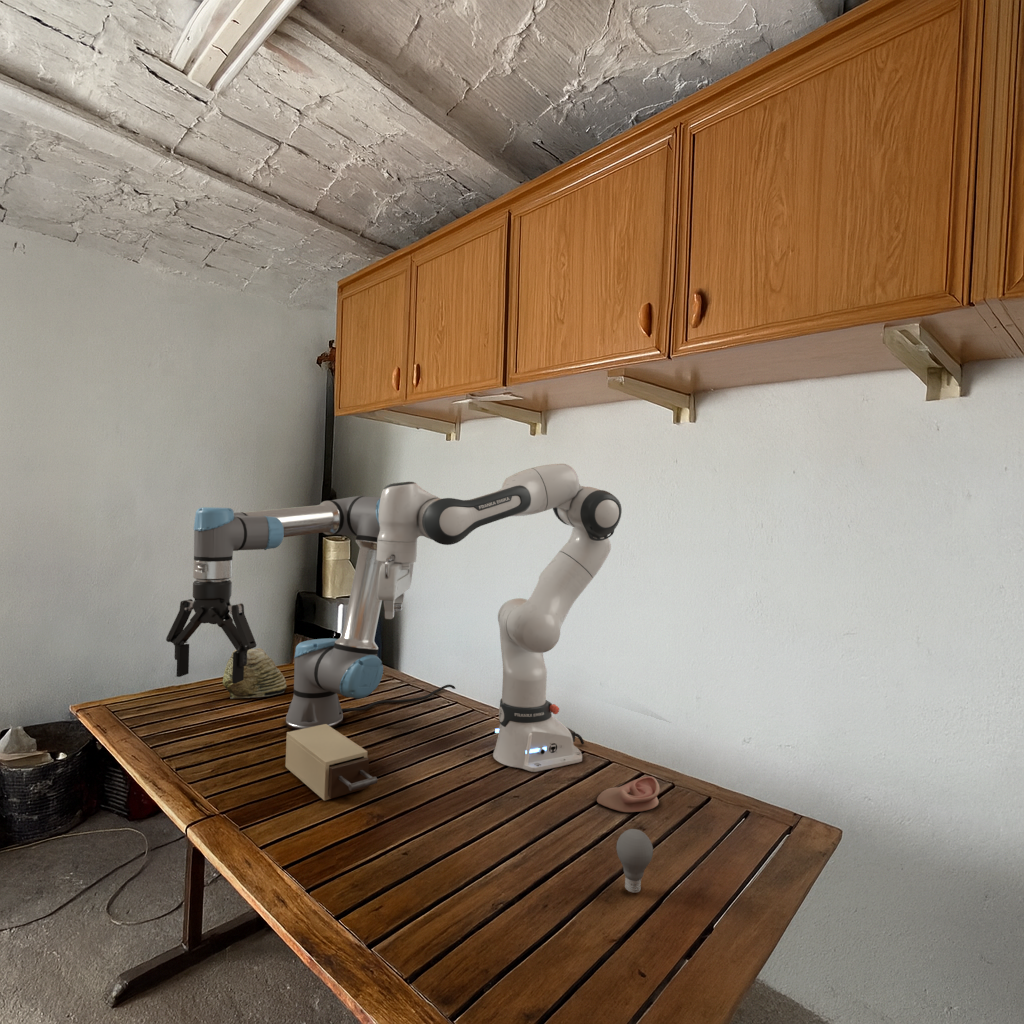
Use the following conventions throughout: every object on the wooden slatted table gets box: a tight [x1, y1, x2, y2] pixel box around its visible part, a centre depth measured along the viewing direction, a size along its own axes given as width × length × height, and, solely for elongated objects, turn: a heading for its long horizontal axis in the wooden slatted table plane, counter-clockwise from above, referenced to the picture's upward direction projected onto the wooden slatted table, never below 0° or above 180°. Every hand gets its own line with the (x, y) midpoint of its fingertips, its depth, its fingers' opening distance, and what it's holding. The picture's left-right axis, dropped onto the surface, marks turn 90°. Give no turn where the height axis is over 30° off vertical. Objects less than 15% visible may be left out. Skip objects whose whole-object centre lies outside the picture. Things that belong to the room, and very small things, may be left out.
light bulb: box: [615, 828, 654, 894], centre depth 106 cm, size 6×6×10 cm
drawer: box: [328, 756, 378, 800], centre depth 139 cm, size 26×9×6 cm, turn 42°
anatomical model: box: [596, 775, 661, 813], centre depth 138 cm, size 13×4×12 cm
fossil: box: [222, 647, 288, 699], centre depth 198 cm, size 9×18×15 cm, turn 132°
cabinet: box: [285, 724, 369, 801], centre depth 143 cm, size 21×10×8 cm, turn 42°
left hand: (209, 678), depth 136 cm, fingers open, 13 cm apart
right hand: (393, 614), depth 142 cm, fingers open, 8 cm apart
